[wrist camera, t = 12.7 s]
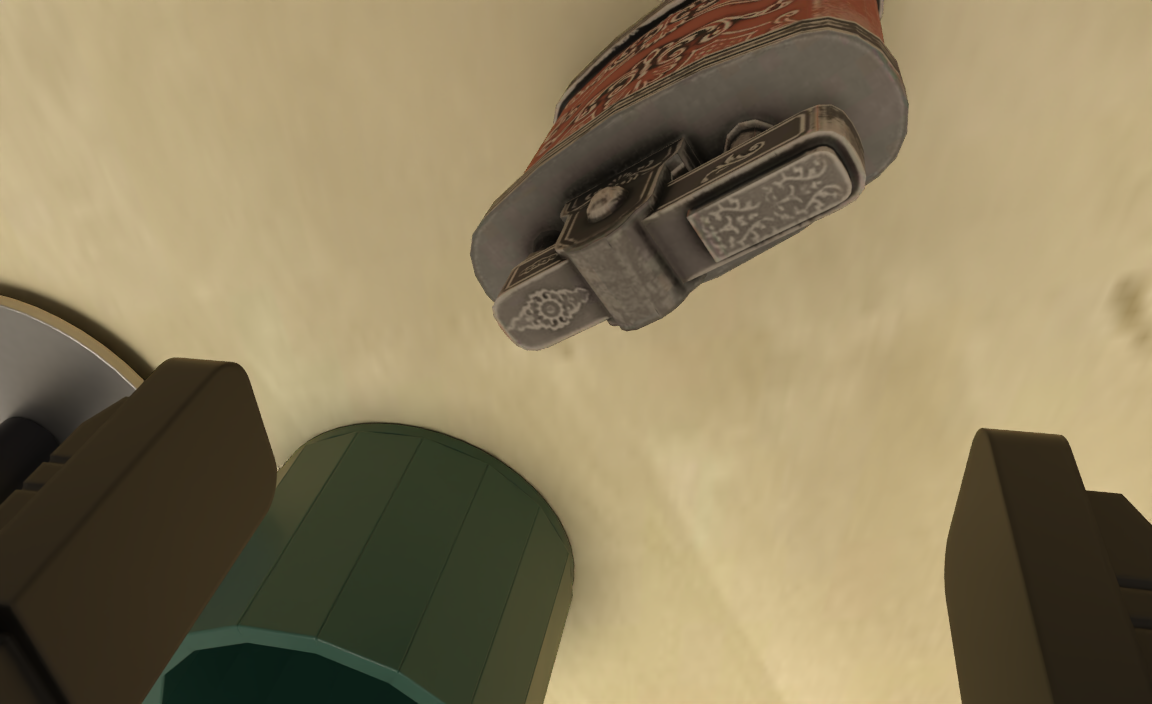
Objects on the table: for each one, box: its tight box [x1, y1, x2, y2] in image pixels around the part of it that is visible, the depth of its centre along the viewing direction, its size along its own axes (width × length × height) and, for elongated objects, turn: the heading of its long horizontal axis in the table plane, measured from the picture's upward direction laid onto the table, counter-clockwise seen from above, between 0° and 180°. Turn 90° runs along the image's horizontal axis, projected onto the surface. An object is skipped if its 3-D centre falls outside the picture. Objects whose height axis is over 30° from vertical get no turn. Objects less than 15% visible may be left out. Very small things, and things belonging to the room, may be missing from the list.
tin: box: [142, 423, 574, 704], centre depth 30 cm, size 11×11×8 cm
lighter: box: [470, 0, 909, 351], centre depth 17 cm, size 8×3×10 cm, turn 126°
